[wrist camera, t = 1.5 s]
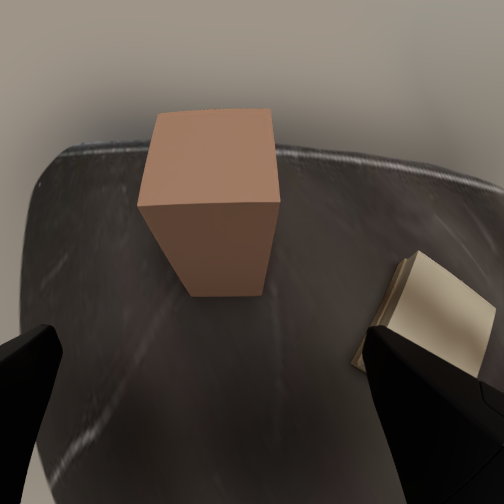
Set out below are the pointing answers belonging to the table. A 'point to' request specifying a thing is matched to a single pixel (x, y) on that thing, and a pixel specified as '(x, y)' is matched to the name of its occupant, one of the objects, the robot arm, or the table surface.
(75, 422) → the table surface
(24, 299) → the table surface
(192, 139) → the column
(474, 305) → the top slab
